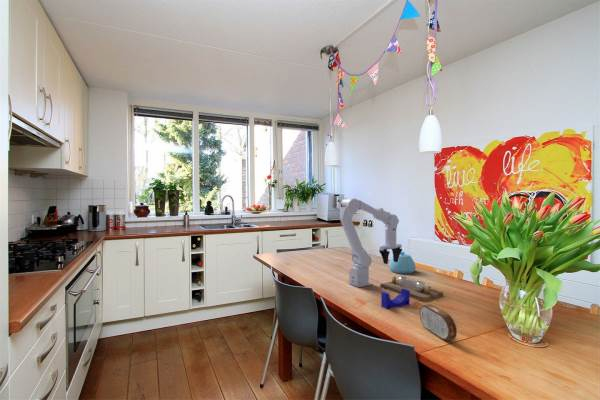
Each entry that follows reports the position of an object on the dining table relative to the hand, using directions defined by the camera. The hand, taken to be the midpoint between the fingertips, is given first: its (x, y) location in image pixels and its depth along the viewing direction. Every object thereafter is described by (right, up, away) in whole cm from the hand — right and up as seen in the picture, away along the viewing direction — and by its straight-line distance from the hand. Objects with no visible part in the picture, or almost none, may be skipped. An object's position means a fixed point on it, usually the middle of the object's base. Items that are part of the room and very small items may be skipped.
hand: (390, 262), depth 159 cm
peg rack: (+4, -10, -17) cm, 20 cm away
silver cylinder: (+4, -8, -18) cm, 20 cm away
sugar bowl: (+13, -9, +20) cm, 25 cm away
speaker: (-3, -11, -61) cm, 62 cm away
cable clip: (-9, -11, -35) cm, 37 cm away
